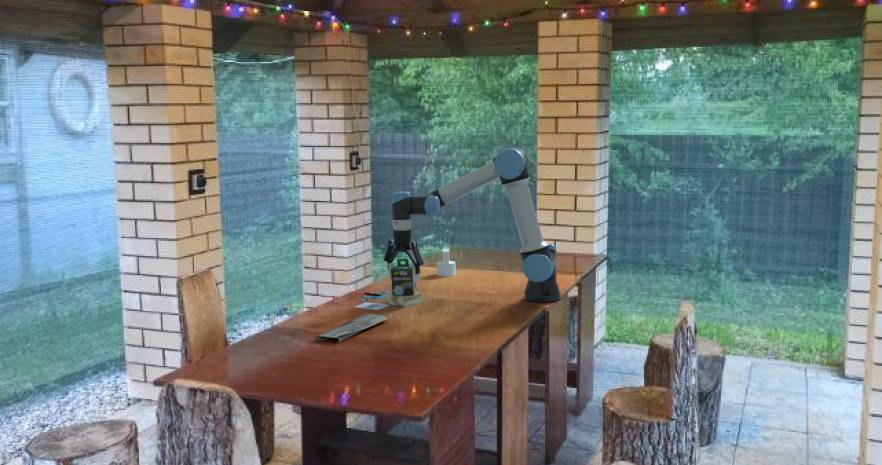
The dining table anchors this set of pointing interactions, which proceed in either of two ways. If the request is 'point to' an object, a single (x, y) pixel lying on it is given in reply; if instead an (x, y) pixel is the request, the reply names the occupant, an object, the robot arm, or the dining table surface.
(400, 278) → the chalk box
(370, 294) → the gear mechanism
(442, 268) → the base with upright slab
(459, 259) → the dining table surface
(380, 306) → the blueprint sheet
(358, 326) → the newspaper
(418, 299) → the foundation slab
